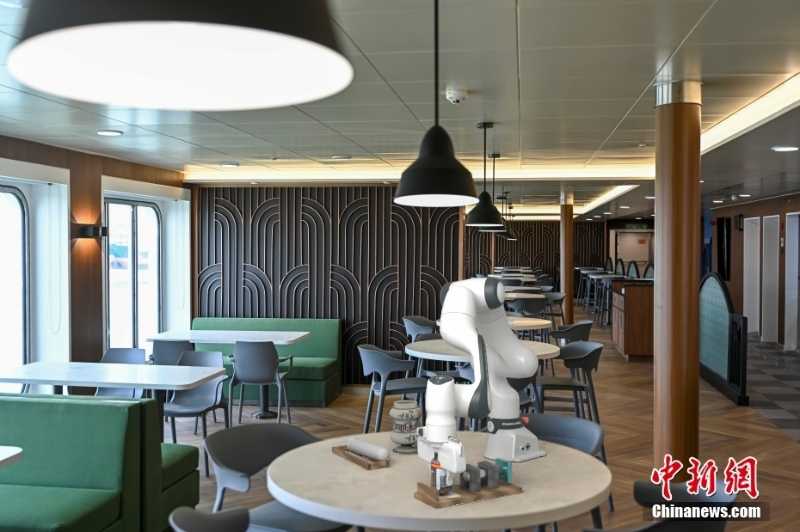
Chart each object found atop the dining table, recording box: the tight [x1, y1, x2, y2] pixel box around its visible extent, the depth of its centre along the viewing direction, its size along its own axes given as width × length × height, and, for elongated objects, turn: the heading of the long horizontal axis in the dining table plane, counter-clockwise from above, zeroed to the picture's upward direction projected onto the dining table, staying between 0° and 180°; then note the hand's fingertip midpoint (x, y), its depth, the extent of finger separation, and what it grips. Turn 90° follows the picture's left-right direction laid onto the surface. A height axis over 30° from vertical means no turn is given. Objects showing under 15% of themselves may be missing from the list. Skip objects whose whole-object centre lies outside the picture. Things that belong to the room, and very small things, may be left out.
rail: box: [413, 460, 523, 510], centre depth 214 cm, size 30×12×8 cm, turn 120°
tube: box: [346, 436, 391, 461], centre depth 257 cm, size 5×5×25 cm
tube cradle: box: [331, 444, 390, 471], centre depth 256 cm, size 8×28×2 cm, turn 30°
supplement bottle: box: [430, 452, 453, 494], centre depth 210 cm, size 6×6×11 cm
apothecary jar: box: [389, 399, 423, 455], centre depth 267 cm, size 12×12×18 cm
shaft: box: [463, 458, 513, 483], centre depth 217 cm, size 15×6×6 cm, turn 120°
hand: (441, 481), depth 209 cm, fingers closed on supplement bottle, 6 cm apart
